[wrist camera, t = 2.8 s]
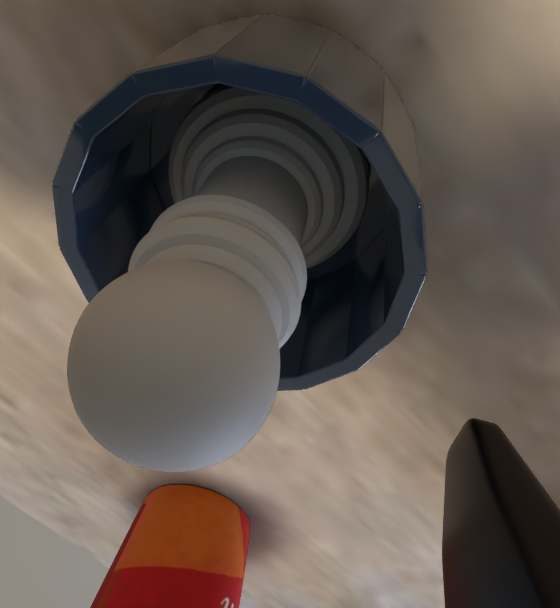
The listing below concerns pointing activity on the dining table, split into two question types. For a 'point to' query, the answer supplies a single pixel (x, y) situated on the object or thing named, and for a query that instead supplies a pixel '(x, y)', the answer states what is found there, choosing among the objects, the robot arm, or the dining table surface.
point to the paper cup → (180, 553)
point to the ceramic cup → (279, 83)
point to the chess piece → (215, 282)
